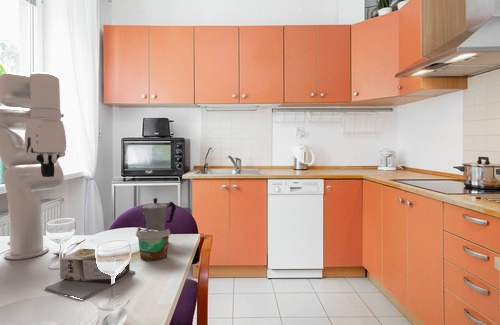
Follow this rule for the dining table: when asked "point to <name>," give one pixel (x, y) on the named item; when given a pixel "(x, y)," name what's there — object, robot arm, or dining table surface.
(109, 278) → the coffee box
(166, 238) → the food container
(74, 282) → the mat
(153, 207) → the coffeepot
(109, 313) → the dining table surface
